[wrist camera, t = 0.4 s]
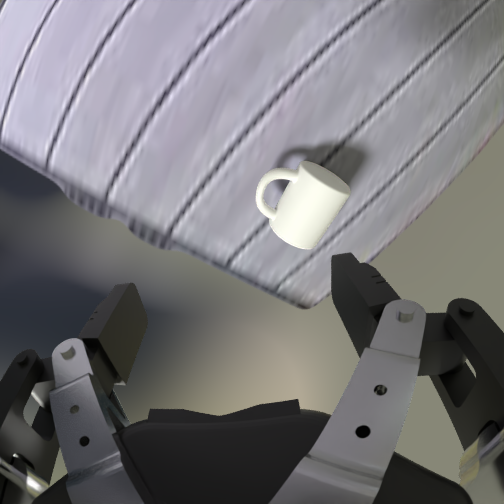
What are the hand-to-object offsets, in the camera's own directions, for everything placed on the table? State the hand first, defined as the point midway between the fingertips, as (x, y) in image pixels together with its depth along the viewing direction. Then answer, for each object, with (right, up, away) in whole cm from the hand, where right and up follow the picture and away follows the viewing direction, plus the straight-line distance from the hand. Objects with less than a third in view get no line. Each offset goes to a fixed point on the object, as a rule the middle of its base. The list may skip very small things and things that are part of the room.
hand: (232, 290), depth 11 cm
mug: (+6, +11, +30) cm, 33 cm away
